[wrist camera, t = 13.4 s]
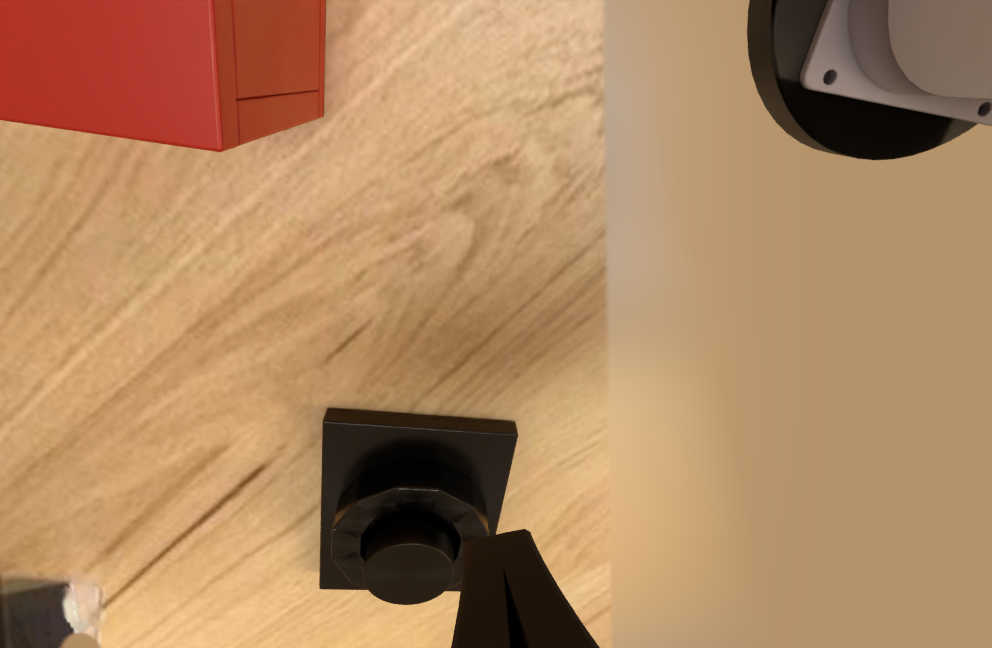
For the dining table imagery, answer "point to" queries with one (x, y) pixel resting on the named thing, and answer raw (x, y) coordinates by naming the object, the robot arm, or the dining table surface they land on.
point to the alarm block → (407, 482)
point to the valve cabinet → (163, 68)
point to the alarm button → (409, 557)
